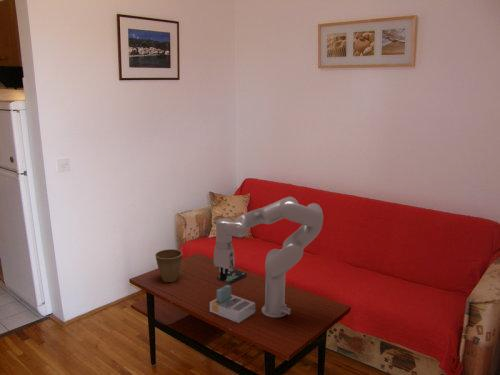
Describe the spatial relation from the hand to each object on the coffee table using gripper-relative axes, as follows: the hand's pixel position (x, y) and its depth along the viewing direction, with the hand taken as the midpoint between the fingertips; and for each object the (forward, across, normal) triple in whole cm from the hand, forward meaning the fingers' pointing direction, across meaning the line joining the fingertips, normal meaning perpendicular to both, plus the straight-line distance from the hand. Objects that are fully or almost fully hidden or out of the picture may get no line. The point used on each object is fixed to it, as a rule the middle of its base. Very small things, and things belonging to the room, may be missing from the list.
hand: (223, 280), depth 211 cm
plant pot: (+16, +46, -7) cm, 49 cm away
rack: (+15, -6, 0) cm, 16 cm away
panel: (+14, 0, 0) cm, 14 cm away
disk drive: (+16, +20, -32) cm, 41 cm away
